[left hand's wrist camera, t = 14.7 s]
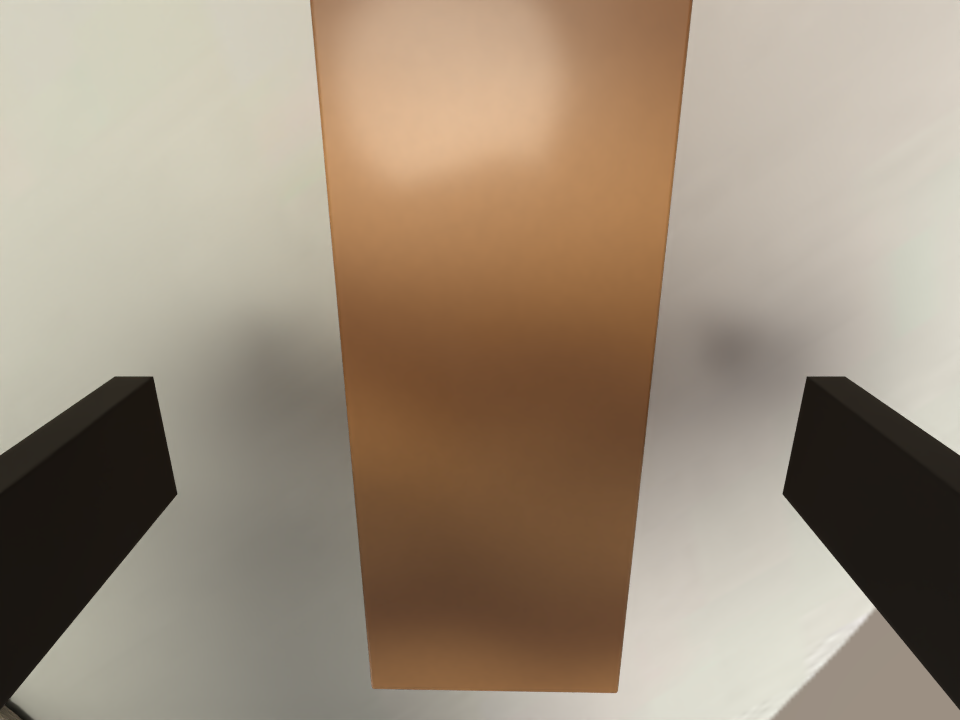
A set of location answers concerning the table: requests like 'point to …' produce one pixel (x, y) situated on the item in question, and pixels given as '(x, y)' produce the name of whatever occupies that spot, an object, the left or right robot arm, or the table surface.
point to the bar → (498, 320)
